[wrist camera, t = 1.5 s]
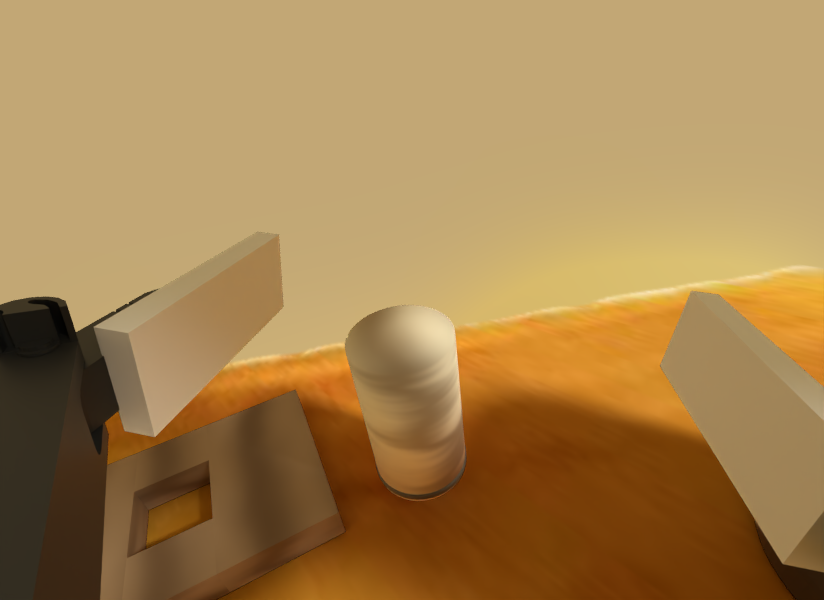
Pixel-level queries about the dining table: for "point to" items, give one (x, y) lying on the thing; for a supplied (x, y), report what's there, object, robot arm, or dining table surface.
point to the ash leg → (410, 398)
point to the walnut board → (219, 506)
